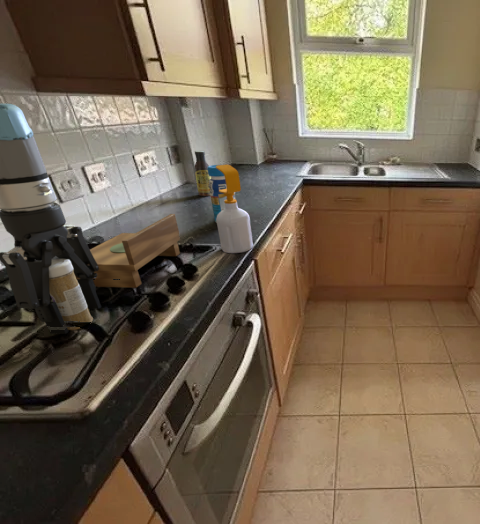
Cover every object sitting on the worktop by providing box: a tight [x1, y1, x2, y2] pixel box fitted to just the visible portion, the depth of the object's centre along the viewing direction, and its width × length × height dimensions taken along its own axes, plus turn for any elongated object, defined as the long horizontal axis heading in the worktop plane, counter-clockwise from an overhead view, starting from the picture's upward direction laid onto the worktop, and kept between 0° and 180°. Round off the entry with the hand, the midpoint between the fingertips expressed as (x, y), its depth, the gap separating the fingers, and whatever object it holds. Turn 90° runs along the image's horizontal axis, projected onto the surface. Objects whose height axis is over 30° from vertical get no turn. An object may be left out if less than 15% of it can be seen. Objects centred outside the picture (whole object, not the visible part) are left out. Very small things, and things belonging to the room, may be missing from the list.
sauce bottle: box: [194, 150, 211, 197], centre depth 152 cm, size 6×6×20 cm
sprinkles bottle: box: [49, 258, 94, 331], centre depth 62 cm, size 5×5×13 cm
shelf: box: [75, 213, 181, 289], centre depth 85 cm, size 16×20×12 cm
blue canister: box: [207, 164, 236, 224], centre depth 119 cm, size 8×8×20 cm
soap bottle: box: [216, 164, 254, 254], centre depth 96 cm, size 9×9×25 cm
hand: (77, 319), depth 65 cm, fingers open, 8 cm apart
